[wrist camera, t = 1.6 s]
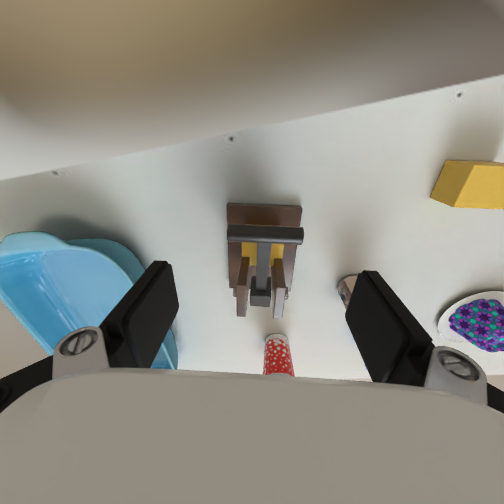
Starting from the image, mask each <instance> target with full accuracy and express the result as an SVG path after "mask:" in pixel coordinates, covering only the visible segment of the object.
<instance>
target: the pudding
mask: <svg viewBox="0 0 504 504" xmlns="http://www.w3.org/2000/svg"><path fill="white" fill-rule="evenodd" d="M438 331H439V333H440V334H441V336H443V337H444V338H445V339H448V340H450V341H454V342H471V343H472V344H474V345H475V346H477V347H478V348H480V349H482V350H486V351H488V352H498V351H504V292H501V291H489V292H482V293H478V294H475V295H472V296H469V297H466V298H464V299H462V300H460V301H458V302H457V303H455V304H454V305H452V306H451V307H450V308H448V309H447V310H446V311H445V312H444V313H443V315H442V316H441V318H440V320H439V322H438Z"/></svg>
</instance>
